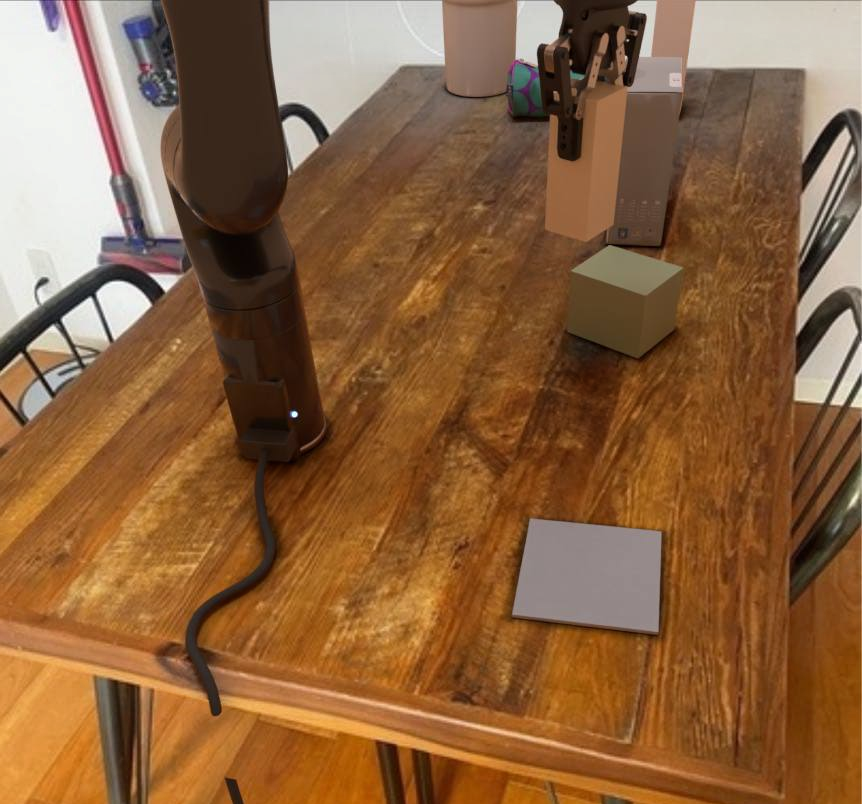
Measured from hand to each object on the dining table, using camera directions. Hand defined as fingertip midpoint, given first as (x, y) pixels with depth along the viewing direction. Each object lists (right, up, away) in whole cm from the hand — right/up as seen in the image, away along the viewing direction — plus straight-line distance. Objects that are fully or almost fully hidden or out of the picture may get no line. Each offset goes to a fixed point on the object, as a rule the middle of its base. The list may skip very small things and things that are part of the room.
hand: (586, 148), depth 82 cm
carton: (0, -1, +1) cm, 1 cm away
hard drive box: (+15, +8, +42) cm, 46 cm away
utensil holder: (-5, +54, +91) cm, 106 cm away
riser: (+8, -12, +22) cm, 26 cm away
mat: (-1, -40, -7) cm, 41 cm away
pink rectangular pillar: (+27, +40, +74) cm, 88 cm away
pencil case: (+10, +41, +76) cm, 87 cm away
